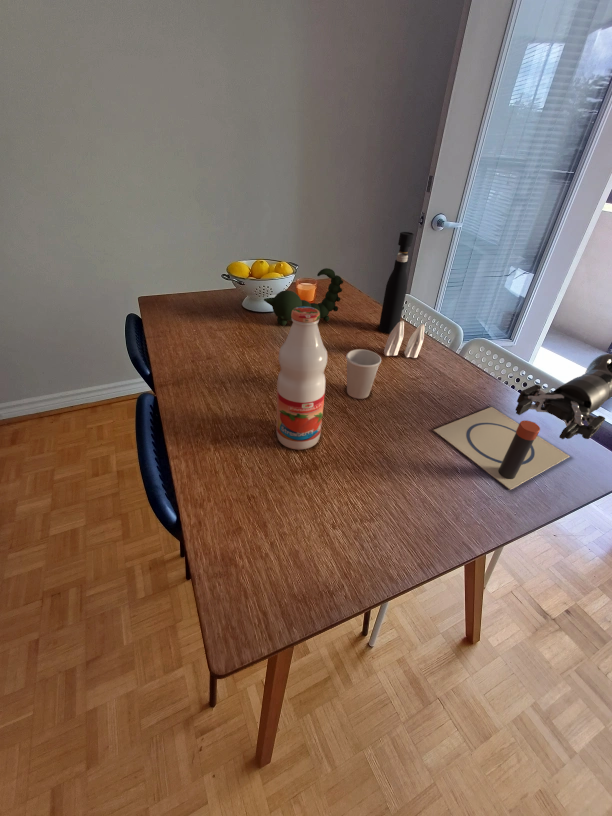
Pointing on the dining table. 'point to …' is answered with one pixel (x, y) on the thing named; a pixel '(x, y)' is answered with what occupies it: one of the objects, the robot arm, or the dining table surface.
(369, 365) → the dixie cup
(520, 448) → the marker
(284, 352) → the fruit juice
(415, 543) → the dining table surface
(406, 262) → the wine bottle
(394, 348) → the shaker set
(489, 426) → the paper
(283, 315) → the toy figurine
